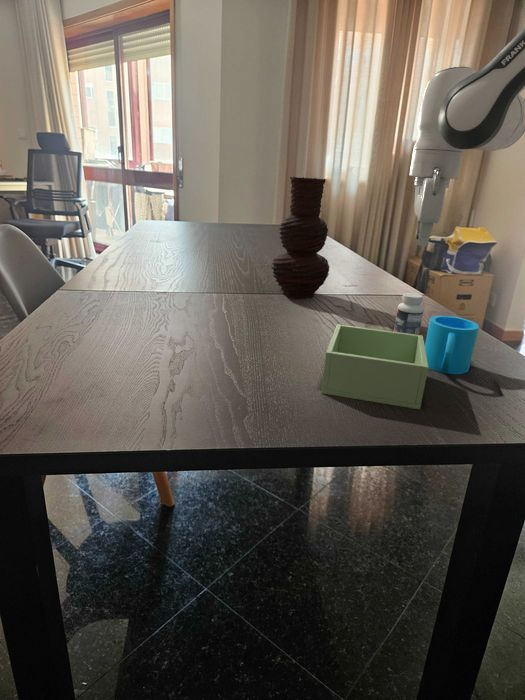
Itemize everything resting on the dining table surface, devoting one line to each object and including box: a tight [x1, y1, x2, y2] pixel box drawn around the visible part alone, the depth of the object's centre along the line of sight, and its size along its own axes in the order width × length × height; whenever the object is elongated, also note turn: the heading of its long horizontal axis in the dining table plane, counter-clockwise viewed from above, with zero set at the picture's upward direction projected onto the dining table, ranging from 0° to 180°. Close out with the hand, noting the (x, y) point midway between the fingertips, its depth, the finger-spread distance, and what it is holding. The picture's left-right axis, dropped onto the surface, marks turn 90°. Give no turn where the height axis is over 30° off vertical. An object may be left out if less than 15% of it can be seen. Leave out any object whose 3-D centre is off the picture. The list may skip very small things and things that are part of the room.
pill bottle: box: [393, 292, 424, 335], centre depth 99 cm, size 5×5×9 cm
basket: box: [321, 323, 429, 410], centre depth 76 cm, size 15×15×7 cm
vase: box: [270, 176, 330, 300], centre depth 122 cm, size 15×15×30 cm
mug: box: [424, 315, 480, 375], centre depth 83 cm, size 12×8×8 cm
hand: (420, 242), depth 93 cm, fingers open, 8 cm apart
